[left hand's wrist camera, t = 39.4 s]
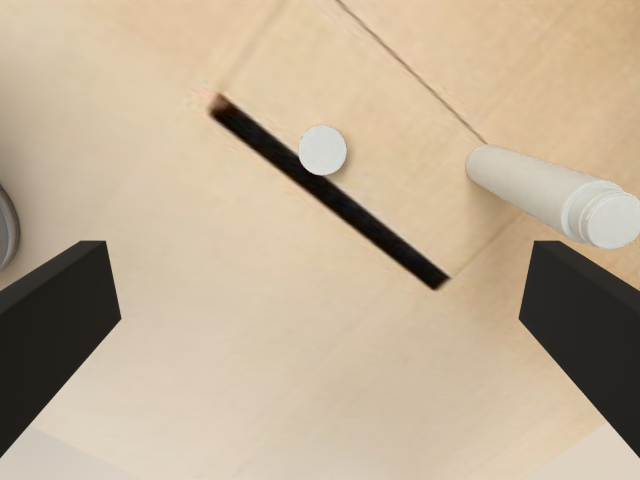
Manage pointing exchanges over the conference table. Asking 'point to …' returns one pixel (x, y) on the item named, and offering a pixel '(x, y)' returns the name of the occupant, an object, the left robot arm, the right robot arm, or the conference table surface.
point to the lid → (322, 150)
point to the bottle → (558, 196)
